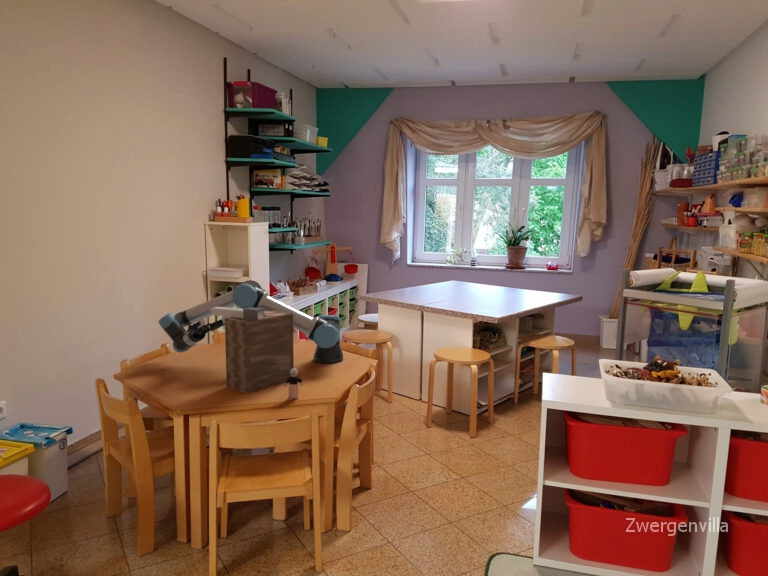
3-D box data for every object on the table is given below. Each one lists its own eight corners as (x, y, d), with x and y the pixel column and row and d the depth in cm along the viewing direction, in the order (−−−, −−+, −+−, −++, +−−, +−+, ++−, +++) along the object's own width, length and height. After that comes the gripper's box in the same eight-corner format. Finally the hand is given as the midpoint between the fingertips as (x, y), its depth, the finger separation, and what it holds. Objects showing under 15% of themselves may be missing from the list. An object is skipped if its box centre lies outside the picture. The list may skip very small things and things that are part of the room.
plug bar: (207, 314, 243) (206, 305, 242) (214, 312, 247) (214, 303, 247) (257, 319, 233) (257, 310, 232) (264, 317, 238) (264, 308, 237)
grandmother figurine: (286, 401, 223) (285, 370, 221) (283, 398, 227) (283, 368, 225) (304, 398, 226) (304, 368, 224) (302, 396, 230) (302, 366, 228)
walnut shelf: (226, 386, 240) (224, 318, 236) (272, 373, 260) (271, 309, 256) (247, 393, 232) (246, 322, 227) (293, 379, 252) (293, 313, 248)
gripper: (219, 337, 271) (243, 321, 259) (173, 347, 252) (196, 329, 239) (214, 323, 273) (237, 306, 260) (167, 332, 253) (190, 314, 240)
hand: (218, 317), depth 250 cm, fingers open, 13 cm apart
